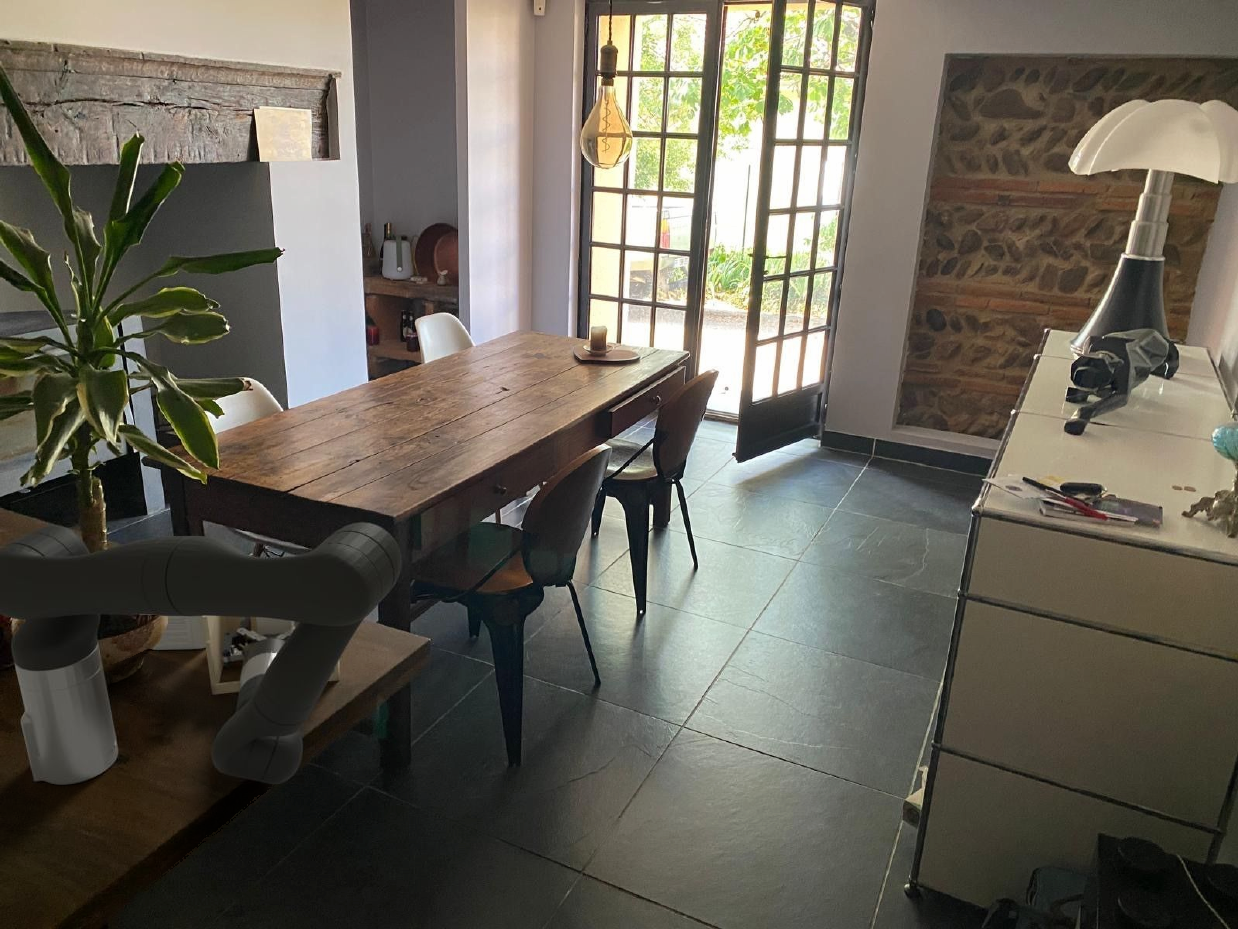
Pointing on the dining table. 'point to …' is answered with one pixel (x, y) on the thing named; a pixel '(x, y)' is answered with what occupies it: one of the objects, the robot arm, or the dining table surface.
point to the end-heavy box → (273, 625)
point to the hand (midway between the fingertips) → (277, 619)
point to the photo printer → (183, 633)
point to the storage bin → (214, 643)
